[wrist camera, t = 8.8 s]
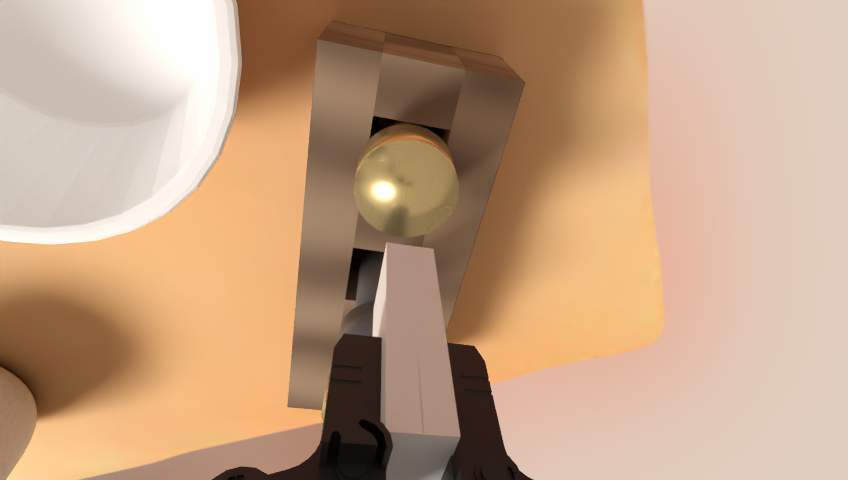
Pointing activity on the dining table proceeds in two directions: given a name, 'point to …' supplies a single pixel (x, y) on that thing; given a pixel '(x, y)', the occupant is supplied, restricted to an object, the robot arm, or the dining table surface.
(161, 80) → the bowl
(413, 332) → the robot arm
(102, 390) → the dining table surface
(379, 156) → the knob
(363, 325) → the pot knob
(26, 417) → the planter
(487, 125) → the mount
